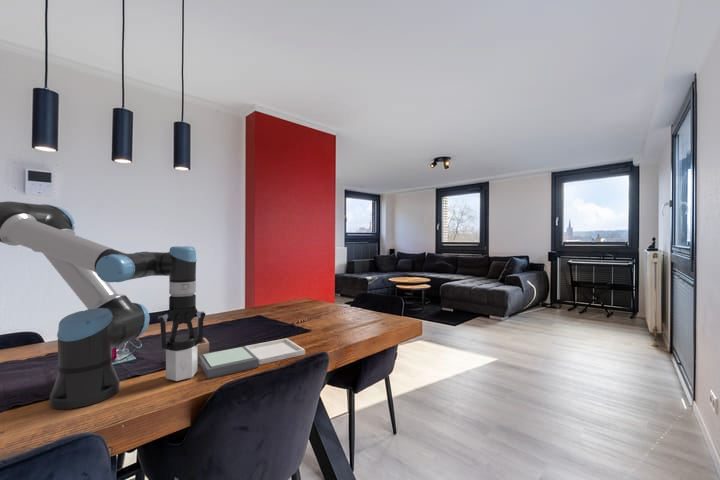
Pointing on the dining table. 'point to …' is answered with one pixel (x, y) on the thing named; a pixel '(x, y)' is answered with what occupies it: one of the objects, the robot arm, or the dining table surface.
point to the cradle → (227, 366)
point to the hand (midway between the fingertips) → (181, 366)
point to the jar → (181, 358)
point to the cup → (202, 347)
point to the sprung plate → (226, 357)
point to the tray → (275, 350)
